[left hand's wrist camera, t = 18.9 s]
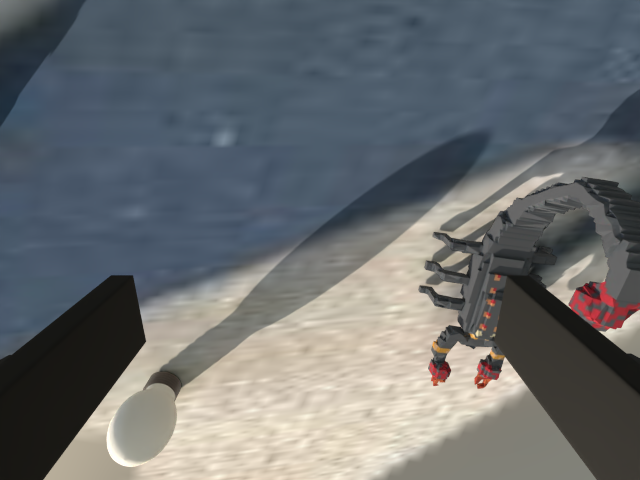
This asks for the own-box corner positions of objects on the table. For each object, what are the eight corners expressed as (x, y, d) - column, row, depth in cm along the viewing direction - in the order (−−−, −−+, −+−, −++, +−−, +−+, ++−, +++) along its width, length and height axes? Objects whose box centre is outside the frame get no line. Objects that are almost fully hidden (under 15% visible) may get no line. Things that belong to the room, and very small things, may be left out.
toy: (580, 167, 37) (801, 218, 20) (500, 373, 47) (606, 529, 29) (455, 149, 37) (574, 185, 20) (399, 361, 46) (447, 513, 29)
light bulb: (131, 386, 47) (79, 464, 37) (156, 352, 45) (108, 424, 35) (176, 410, 49) (138, 492, 38) (202, 378, 47) (169, 455, 36)
